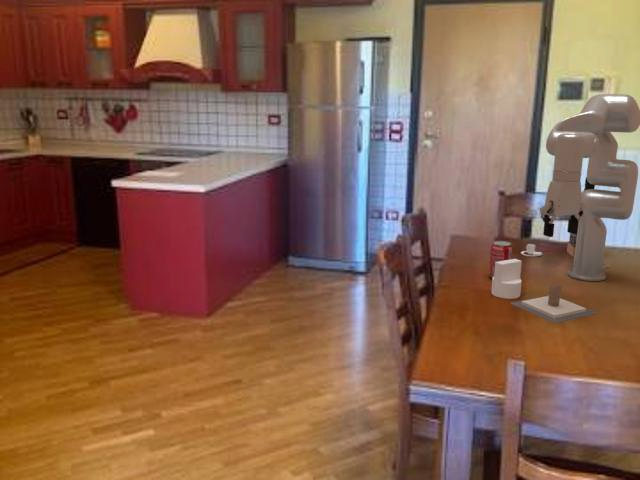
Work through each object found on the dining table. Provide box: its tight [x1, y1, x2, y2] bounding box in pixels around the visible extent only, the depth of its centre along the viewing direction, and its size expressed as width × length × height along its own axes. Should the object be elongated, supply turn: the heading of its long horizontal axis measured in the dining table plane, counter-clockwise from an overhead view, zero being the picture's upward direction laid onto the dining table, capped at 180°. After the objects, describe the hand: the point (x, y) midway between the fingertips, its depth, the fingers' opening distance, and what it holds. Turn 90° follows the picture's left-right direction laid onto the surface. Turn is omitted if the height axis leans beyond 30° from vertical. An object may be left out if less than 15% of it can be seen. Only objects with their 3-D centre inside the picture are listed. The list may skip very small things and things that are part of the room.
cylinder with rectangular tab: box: [491, 258, 523, 300], centre depth 192 cm, size 9×9×12 cm
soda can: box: [489, 240, 513, 279], centre depth 211 cm, size 7×7×13 cm
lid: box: [521, 283, 587, 319], centre depth 180 cm, size 13×13×7 cm
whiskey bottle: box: [566, 176, 596, 258], centre depth 239 cm, size 10×10×32 cm
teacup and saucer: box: [520, 243, 543, 257], centre depth 244 cm, size 9×8×4 cm
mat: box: [509, 294, 599, 324], centre depth 181 cm, size 18×18×1 cm
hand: (560, 234), depth 176 cm, fingers open, 9 cm apart
